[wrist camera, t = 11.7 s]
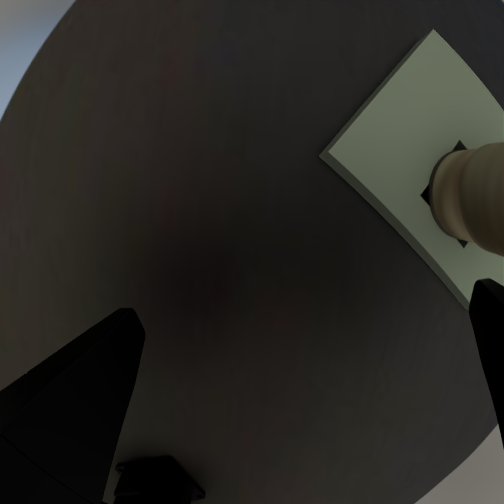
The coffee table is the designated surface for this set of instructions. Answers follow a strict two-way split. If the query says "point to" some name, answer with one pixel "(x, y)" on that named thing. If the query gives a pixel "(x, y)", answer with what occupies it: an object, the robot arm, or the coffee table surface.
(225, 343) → the coffee table surface
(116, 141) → the coffee table surface
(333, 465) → the coffee table surface
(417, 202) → the sage board
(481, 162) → the beech leg
